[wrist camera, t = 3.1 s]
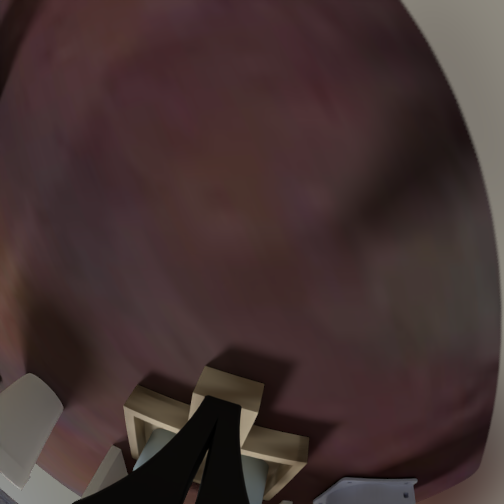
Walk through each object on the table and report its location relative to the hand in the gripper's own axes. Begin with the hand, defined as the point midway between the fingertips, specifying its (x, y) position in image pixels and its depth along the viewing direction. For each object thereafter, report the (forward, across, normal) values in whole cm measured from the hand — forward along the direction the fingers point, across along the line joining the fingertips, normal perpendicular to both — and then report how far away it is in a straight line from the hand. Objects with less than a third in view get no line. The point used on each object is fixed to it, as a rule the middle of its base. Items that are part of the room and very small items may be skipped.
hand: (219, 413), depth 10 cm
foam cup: (+7, +21, +22) cm, 31 cm away
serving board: (+7, 0, +12) cm, 14 cm away
